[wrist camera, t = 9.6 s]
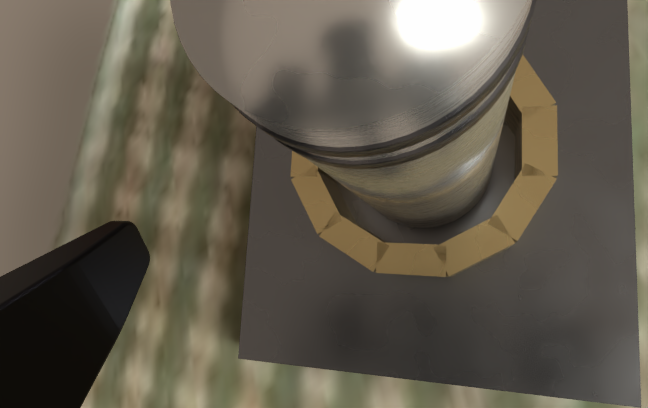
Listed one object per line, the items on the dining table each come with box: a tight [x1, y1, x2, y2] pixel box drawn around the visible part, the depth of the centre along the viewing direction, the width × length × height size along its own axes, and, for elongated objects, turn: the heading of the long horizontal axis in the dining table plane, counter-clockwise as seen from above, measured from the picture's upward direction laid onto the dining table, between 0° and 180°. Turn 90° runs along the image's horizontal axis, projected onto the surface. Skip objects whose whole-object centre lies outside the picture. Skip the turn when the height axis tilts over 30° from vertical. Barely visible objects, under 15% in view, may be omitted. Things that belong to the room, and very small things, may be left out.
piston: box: [170, 0, 537, 228], centre depth 12 cm, size 5×5×12 cm
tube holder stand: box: [238, 0, 641, 408], centre depth 17 cm, size 16×14×4 cm
